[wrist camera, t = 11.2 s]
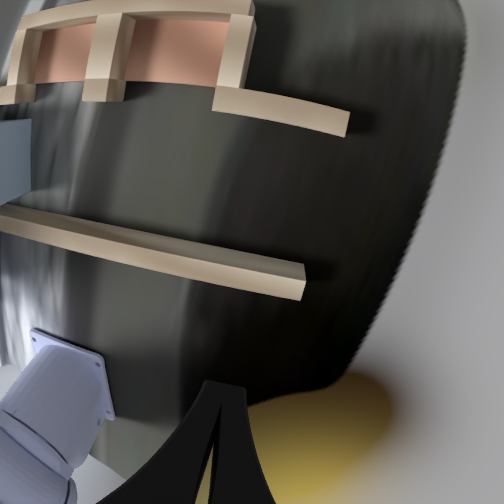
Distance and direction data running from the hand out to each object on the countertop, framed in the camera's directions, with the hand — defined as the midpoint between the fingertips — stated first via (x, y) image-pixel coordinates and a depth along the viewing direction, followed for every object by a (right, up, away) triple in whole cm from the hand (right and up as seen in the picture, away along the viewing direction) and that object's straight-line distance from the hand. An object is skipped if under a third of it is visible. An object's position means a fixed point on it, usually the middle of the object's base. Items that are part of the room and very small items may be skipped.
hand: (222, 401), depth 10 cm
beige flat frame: (-7, +12, +5) cm, 15 cm away
